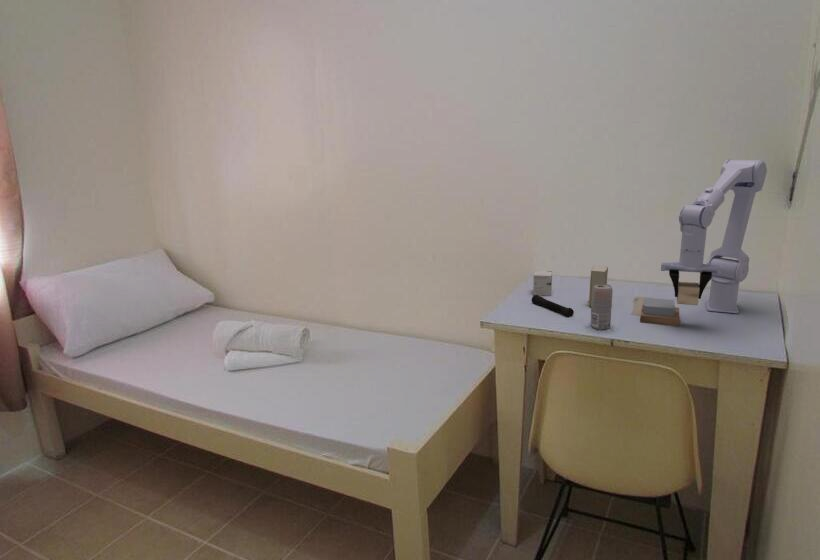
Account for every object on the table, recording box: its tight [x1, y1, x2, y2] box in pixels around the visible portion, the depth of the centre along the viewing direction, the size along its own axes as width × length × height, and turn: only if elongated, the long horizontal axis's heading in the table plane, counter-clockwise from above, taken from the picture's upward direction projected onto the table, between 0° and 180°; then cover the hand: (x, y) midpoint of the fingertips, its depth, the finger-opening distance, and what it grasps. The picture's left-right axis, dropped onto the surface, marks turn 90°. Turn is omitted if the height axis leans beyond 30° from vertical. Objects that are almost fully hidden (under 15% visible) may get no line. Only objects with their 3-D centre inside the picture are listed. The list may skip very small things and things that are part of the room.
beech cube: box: [676, 281, 700, 306], centre depth 144 cm, size 5×5×5 cm
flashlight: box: [531, 295, 575, 318], centre depth 165 cm, size 3×16×3 cm, turn 26°
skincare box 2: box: [588, 265, 609, 307], centre depth 165 cm, size 6×4×12 cm
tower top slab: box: [644, 297, 676, 317], centre depth 152 cm, size 8×8×2 cm
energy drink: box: [590, 283, 613, 330], centre depth 147 cm, size 5×5×12 cm
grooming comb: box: [630, 296, 657, 317], centre depth 163 cm, size 18×10×1 cm, turn 149°
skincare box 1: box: [532, 270, 553, 297], centre depth 180 cm, size 6×6×7 cm
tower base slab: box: [639, 305, 680, 327], centre depth 153 cm, size 10×10×2 cm
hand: (687, 296), depth 144 cm, fingers closed on beech cube, 5 cm apart
